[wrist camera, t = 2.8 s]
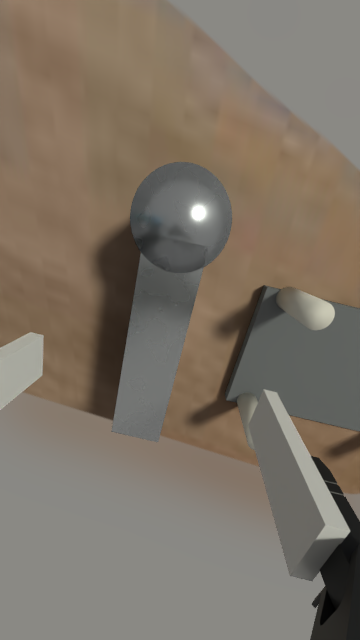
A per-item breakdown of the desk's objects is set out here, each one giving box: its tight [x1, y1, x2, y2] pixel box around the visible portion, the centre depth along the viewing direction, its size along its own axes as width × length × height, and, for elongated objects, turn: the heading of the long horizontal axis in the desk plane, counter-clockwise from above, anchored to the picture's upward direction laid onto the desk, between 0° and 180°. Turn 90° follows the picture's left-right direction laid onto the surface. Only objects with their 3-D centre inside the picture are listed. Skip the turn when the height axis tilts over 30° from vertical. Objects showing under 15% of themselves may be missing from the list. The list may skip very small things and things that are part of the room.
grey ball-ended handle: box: [112, 162, 232, 442], centre depth 18 cm, size 20×6×6 cm, turn 167°
